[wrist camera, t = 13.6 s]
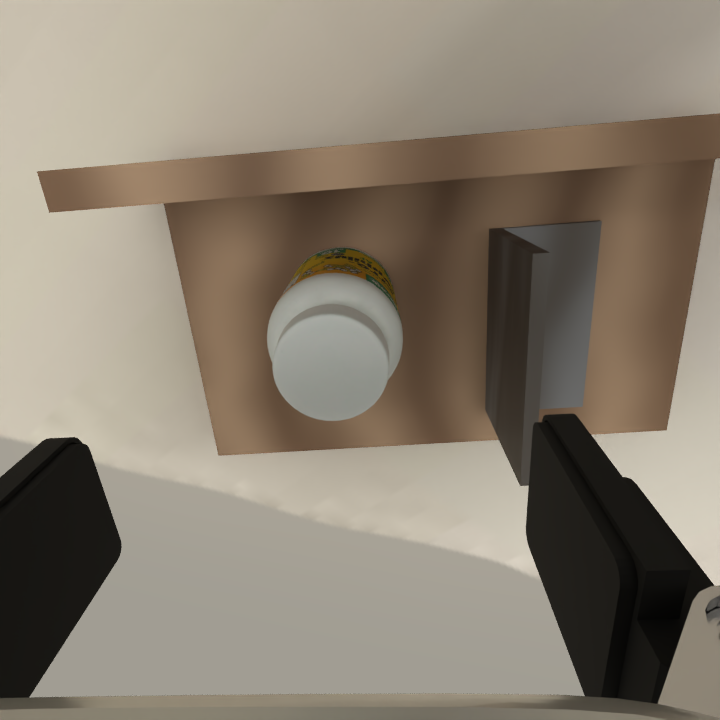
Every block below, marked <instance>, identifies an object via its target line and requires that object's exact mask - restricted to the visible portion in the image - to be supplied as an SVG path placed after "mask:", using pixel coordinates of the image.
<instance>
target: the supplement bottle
mask: <svg viewBox="0 0 720 720" xmlns="http://www.w3.org/2000/svg"><path fill="white" fill-rule="evenodd" d="M267 345H268V351H269V355H270V358H271V361H272V363H273V364H272V368H273V376H274V380H275V383H276V386H277V388H278V390H279V392H280V393H281V395H282V396H283V397H284V399H285V400H286V401H287V402H288V403H289V404H290V405H291V406H292V407H293V408H295V409H296V410H298V411H299V412H301V413H303V414H304V415H307V416H309V417H312V418H315V419H319V420H325V421H340V420H345V419H350V418H353V417H355V416H358V415H360V414H362V413H363V412H365V411H366V410H368V409H369V408H370V407H372V406H373V405H374V404H375V403H376V401H377V400H378V399H379V398H380V396H381V395H382V393H383V391H384V389H385V387H386V384H387V381H388V379H389V378H390V377H391V375H392V374H393V372H394V371H395V369H396V367H397V365H398V362H399V360H400V357H401V352H402V346H403V331H402V323H401V319H400V316H399V311H398V306H397V302H396V297H395V293H394V289H393V285H392V282H391V279H390V277H389V275H388V273H387V271H386V270H385V268H384V267H383V266H382V264H381V263H380V262H379V261H378V260H376V259H375V258H374V257H372V256H371V255H369V254H368V253H366V252H364V251H361V250H359V249H356V248H350V247H337V248H330V249H326V250H322V251H319V252H317V253H315V254H313V255H312V256H310V257H309V258H308V259H306V260H305V261H304V262H303V263H302V264H301V266H300V267H299V268H298V270H297V271H296V273H295V274H294V276H293V278H292V279H291V281H290V283H289V284H288V286H287V287H286V289H285V291H284V292H283V294H282V296H281V297H280V299H279V300H278V302H277V304H276V306H275V308H274V309H273V312H272V314H271V317H270V320H269V324H268V331H267Z"/></svg>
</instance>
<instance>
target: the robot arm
mask: <svg viewBox="0 0 720 720" xmlns="http://www.w3.org/2000/svg"><path fill="white" fill-rule="evenodd" d="M526 535H527V541H528V545H529V548H530V551H531V554H532V556H533V559H534V562H535V564H536V567H537V570H538V572H539V575H540V578H541V580H542V583H543V586H544V588H545V591H546V593H547V596H548V599H549V601H550V604H551V607H552V610H553V612H554V615H555V617H556V620H557V623H558V626H559V628H560V631H561V634H562V636H563V639H564V641H565V644H566V647H567V650H568V652H569V655H570V658H571V660H572V663H573V666H574V668H575V671H576V674H577V676H578V679H579V682H580V684H581V687H582V689H583V692H584V695H585V696H570V695H535V694H457V693H455V694H454V693H453V694H452V693H445V694H444V693H437V694H435V693H431V694H430V693H428V694H426V693H425V694H270V695H269V694H265V695H264V694H263V695H173V696H172V695H171V696H93V697H35V698H29V696H30V695H31V694H32V692H33V691H34V689H35V687H36V686H37V684H38V683H39V681H40V680H41V678H42V676H43V675H44V674H45V672H46V670H47V669H48V667H49V666H50V664H51V663H52V661H53V659H54V658H55V656H56V655H57V653H58V652H59V650H60V649H61V647H62V645H63V644H64V642H65V641H66V639H67V638H68V636H69V634H70V633H71V631H72V630H73V628H74V627H75V625H76V624H77V622H78V621H79V619H80V618H81V616H82V614H83V613H84V611H85V610H86V608H87V607H88V605H89V604H90V602H91V601H92V599H93V597H94V596H95V594H96V593H97V591H98V590H99V588H100V587H101V585H102V583H103V582H104V580H105V579H106V577H107V576H108V574H109V573H110V571H111V569H112V568H113V566H114V564H115V563H116V562H117V560H118V558H119V556H120V553H121V540H120V537H119V534H118V531H117V528H116V525H115V522H114V519H113V516H112V513H111V510H110V507H109V505H108V502H107V499H106V496H105V493H104V490H103V487H102V484H101V481H100V478H99V475H98V472H97V469H96V467H95V464H94V461H93V458H92V455H91V452H90V449H89V447H88V446H87V445H86V444H82V442H81V441H80V440H79V439H78V438H75V437H70V438H50V439H46V440H44V441H42V442H41V443H40V444H39V445H37V446H36V447H35V448H34V449H33V450H32V451H30V452H29V453H28V454H27V455H26V456H25V457H24V458H22V459H21V460H20V461H19V462H18V463H16V464H15V465H14V466H13V467H12V468H11V469H9V470H8V471H7V472H6V473H5V474H4V475H2V476H1V477H0V720H720V586H714V585H713V583H712V582H711V581H710V579H709V578H708V577H707V575H706V574H705V573H704V571H703V570H702V569H701V568H700V566H699V565H698V564H697V562H696V561H695V560H694V558H693V557H692V556H691V555H690V553H689V552H688V551H687V549H686V548H685V547H684V545H683V544H682V543H681V542H680V540H679V539H678V538H677V536H676V535H675V534H674V532H673V531H672V530H671V529H670V527H669V526H668V525H667V523H666V522H665V521H664V519H663V518H662V517H661V516H660V514H659V513H658V512H657V510H656V509H655V508H654V506H653V505H652V504H651V503H650V501H649V500H648V499H647V497H646V496H645V495H644V493H643V492H642V491H641V490H640V488H639V487H638V486H637V484H636V483H635V482H634V481H633V480H632V479H630V478H627V477H622V476H621V475H620V473H619V472H618V471H617V469H616V468H615V466H614V465H613V464H612V462H611V461H610V460H609V458H608V457H607V456H606V454H605V453H604V452H603V450H602V449H601V448H600V446H599V445H598V444H597V442H596V441H595V440H594V438H593V437H592V435H591V434H590V433H589V431H588V430H587V429H586V427H585V426H584V425H583V423H582V422H581V421H580V419H579V418H578V417H577V416H576V415H575V414H573V413H571V414H550V415H544V416H543V419H542V422H535V423H534V425H533V431H532V446H531V461H530V476H529V491H528V505H527V520H526Z"/></svg>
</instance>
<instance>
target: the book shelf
mask: <svg viewBox="0 0 720 720" xmlns="http://www.w3.org/2000/svg"><path fill="white" fill-rule="evenodd" d="M717 158H720V114H709V115H697V116H685V117H673V118H662V119H650V120H638V121H626V122H615V123H603V124H591V125H579V126H568V127H556V128H544V129H532V130H520V131H509V132H497V133H485V134H473V135H462V136H450V137H438V138H426V139H415V140H403V141H391V142H379V143H368V144H356V145H344V146H332V147H320V148H309V149H297V150H285V151H273V152H262V153H250V154H238V155H226V156H215V157H203V158H191V159H179V160H168V161H156V162H144V163H132V164H120V165H109V166H97V167H85V168H73V169H62V170H50V171H38V172H37V173H38V176H39V180H40V183H41V186H42V190H43V193H44V196H45V199H46V203H47V206H48V209H49V213H50V212H62V211H74V210H87V209H99V208H111V207H124V206H136V205H148V204H161V203H164V206H165V210H166V215H167V220H168V224H169V229H170V234H171V238H172V243H173V247H174V252H175V257H176V261H177V266H178V270H179V275H180V280H181V284H182V289H183V294H184V298H185V303H186V307H187V312H188V317H189V321H190V326H191V331H192V335H193V340H194V344H195V349H196V354H197V358H198V363H199V367H200V372H201V377H202V381H203V386H204V391H205V395H206V400H207V404H208V409H209V414H210V418H211V423H212V428H213V432H214V437H215V441H216V446H217V451H218V455H237V454H254V453H272V452H290V451H307V450H325V449H343V448H360V447H378V446H396V445H413V444H431V443H449V442H466V441H484V440H499V441H500V443H501V445H502V447H503V449H504V452H505V454H506V456H507V458H508V460H509V462H510V464H511V467H512V469H513V471H514V473H515V475H516V477H517V480H518V482H519V484H520V486H526V485H529V476H530V461H531V446H532V431H533V425H534V423H535V422H542V419H543V416H544V415H550V414H571V413H573V414H575V415H576V416H577V417H578V418H579V419H580V421H581V422H582V423H583V425H584V426H585V427H586V429H587V430H588V431H589V433H590V434H608V433H625V432H643V431H661V430H667V425H668V419H669V413H670V408H671V402H672V397H673V391H674V385H675V380H676V374H677V369H678V363H679V357H680V352H681V346H682V341H683V335H684V329H685V324H686V318H687V313H688V307H689V301H690V296H691V290H692V285H693V279H694V273H695V268H696V262H697V257H698V251H699V246H700V240H701V234H702V229H703V223H704V218H705V212H706V206H707V201H708V195H709V190H710V184H711V178H712V173H713V167H714V162H715V159H717ZM337 247H350V248H356V249H359V250H361V251H364V252H366V253H368V254H369V255H371V256H372V257H374V258H375V259H376V260H378V261H379V262H380V263H381V264H382V266H383V267H384V268H385V270H386V271H387V273H388V275H389V277H390V279H391V282H392V285H393V289H394V293H395V297H396V302H397V306H398V311H399V316H400V319H401V323H402V331H403V346H402V352H401V357H400V360H399V362H398V365H397V367H396V369H395V371H394V372H393V374H392V375H391V377H390V378H389V379H388V381H387V384H386V387H385V389H384V391H383V393H382V395H381V396H380V398H379V399H378V400H377V401H376V403H375V404H374V405H373V406H372V407H370V408H369V409H368V410H366V411H365V412H363V413H362V414H360V415H358V416H355V417H353V418H350V419H345V420H340V421H325V420H319V419H315V418H312V417H309V416H307V415H304V414H303V413H301V412H299V411H298V410H296V409H295V408H293V407H292V406H291V405H290V404H289V403H288V402H287V401H286V400H285V399H284V397H283V396H282V395H281V393H280V392H279V390H278V388H277V386H276V383H275V380H274V376H273V368H272V364H273V363H272V361H271V358H270V355H269V351H268V345H267V331H268V324H269V320H270V317H271V314H272V312H273V309H274V308H275V306H276V304H277V302H278V300H279V299H280V297H281V296H282V294H283V292H284V291H285V289H286V287H287V286H288V284H289V283H290V281H291V279H292V278H293V276H294V274H295V273H296V271H297V270H298V268H299V267H300V266H301V264H302V263H303V262H304V261H305V260H306V259H308V258H309V257H310V256H312V255H313V254H315V253H317V252H319V251H322V250H326V249H330V248H337Z"/></svg>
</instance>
